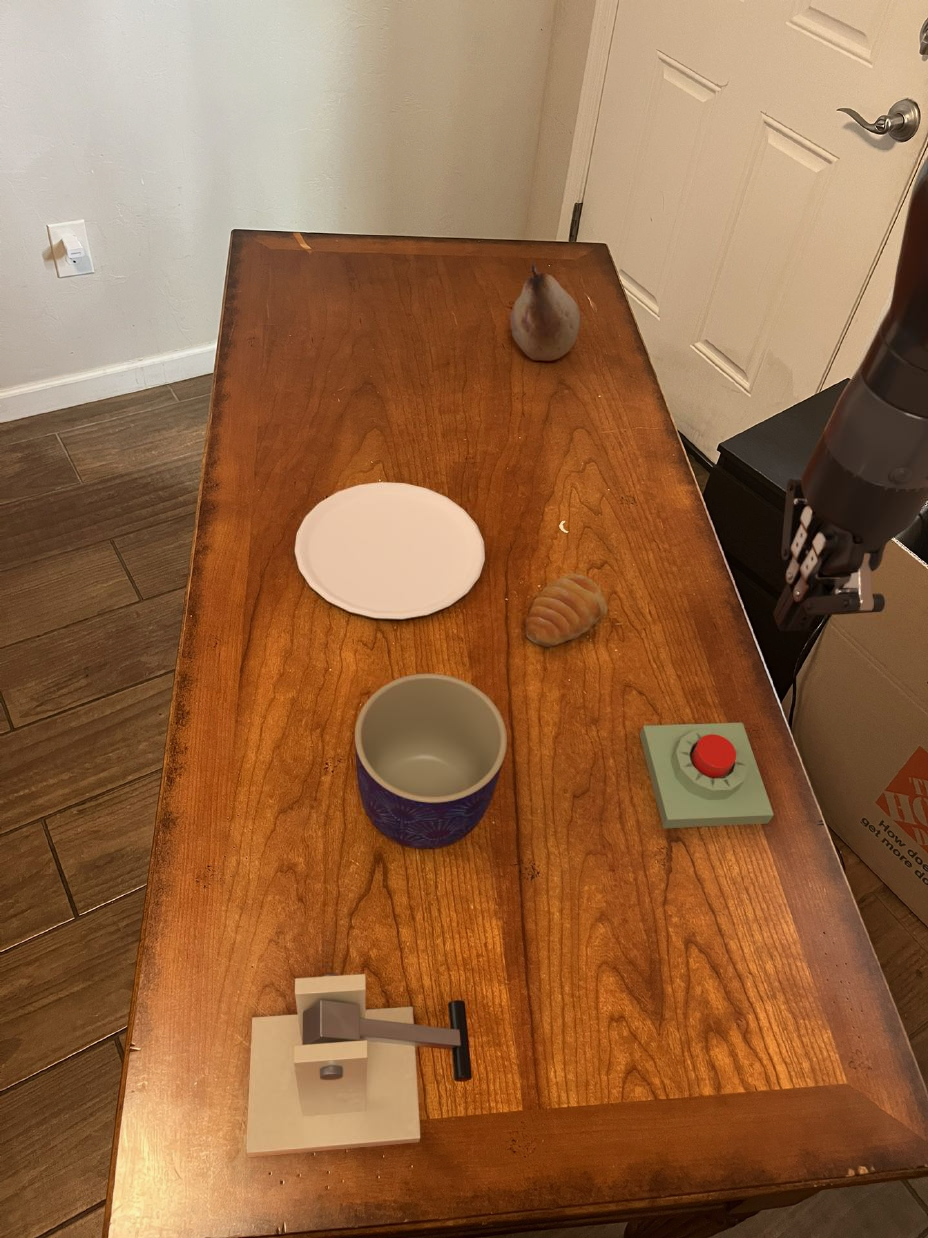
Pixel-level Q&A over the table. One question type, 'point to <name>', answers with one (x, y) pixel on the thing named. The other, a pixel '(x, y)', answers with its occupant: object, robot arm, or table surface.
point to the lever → (389, 1031)
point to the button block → (703, 778)
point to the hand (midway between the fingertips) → (787, 622)
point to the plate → (389, 551)
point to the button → (714, 755)
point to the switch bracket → (329, 1080)
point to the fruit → (544, 318)
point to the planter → (428, 758)
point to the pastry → (565, 610)
